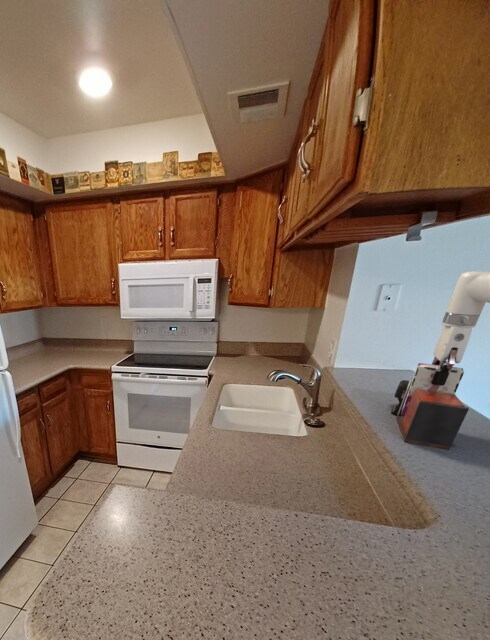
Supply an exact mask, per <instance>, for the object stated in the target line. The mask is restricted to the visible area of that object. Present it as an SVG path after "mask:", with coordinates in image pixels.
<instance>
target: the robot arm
mask: <svg viewBox="0 0 490 640" xmlns="http://www.w3.org/2000/svg"><path fill="white" fill-rule="evenodd" d="M486 303H487V304H490V271H486V270H485V271H484V270H474V271H473V270H470V271H464V272H463V273H461V275H459V277H458V279H457V282H456V284H455V287H454V290H453V293H452V295H451V298H450V299H449V303H448V305H447V308H446V311H445V313H444V316H443V318H442V322H441V325H443V327H442V329H441V331H440V334H439V336H438V339H437V342H436V344H435V347H434V350H433V356H434V357H433V360H432V362H431V364H432V365H439V367H438V371H436V372H435V374H434V377H433V379H432V382H431V384H433V385H442V386H443V385H445V383H446V380H447V378H448V375H449V373H450V371H451V368H452V367H455V364H460V363H461V362H462V360H463V358H464V355H465V352H466V349H467V348H468V347H467V346H468V345H469V341H470V338H471V335H472V330H473V328H476V326H477V324H478V321H479V319H480V316H481V314H482V312H483V309H484V307H485V306H486ZM442 366H443V367H442Z"/></svg>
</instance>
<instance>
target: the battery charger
mask: <svg viewBox="0 0 490 640" xmlns="http://www.w3.org/2000/svg"><path fill="white" fill-rule="evenodd" d="M411 383H412V380H405V379H403V380H400V382H399V383H398V386H397V388H396V389H395V393H394V398H395V399H397V401H398V403H397V404H396V405H395V406H392V408H391V411H390V413H391V414H392V415H395V416H402V414H401V413H402V408H403V406H404V403H405V400H406V397H407V394H408V391H409V388H410V386H411Z"/></svg>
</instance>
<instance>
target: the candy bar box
mask: <svg viewBox="0 0 490 640" xmlns="http://www.w3.org/2000/svg"><path fill="white" fill-rule="evenodd" d="M438 367H439V365H432V363H424V362H423V363H422V362H418V363H417V366H416V369H415V371H414V375H413V377H412V380H411V381H412V383H411V386H410V388H409V391H408V394H407V397H406V400H405V403H404V406H403V408H402V413H401V416H405V414H406V411H407V408H408V406H409V403H410V401H411V398H412V395H413V393H414V390H415V389H417V390H425V391H433V392H441V393H449V394H455V395H456V392H457V390H458V389H459V386H460V383H461V380H462V378H463V376H464V375H465V374H464V373H465V371H464V368H463V367H456V366H452V368H451V371H450V373H449V375H448V378H447V380H446V383H445V385H443V386H442V385H433V384H431V382H432V379H433V377H434V374H435V372H436V371H438ZM442 367H443V366H442Z"/></svg>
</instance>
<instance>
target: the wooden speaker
mask: <svg viewBox="0 0 490 640" xmlns="http://www.w3.org/2000/svg"><path fill="white" fill-rule="evenodd" d="M469 410H470V408H469V407H466V406H465V405H464V403H462V401H461V400H460V399H459V397H458V396H457V395H456V393H455V394H449V393H441V392H433V391H425V390H417V389H415V390H414V393H413V395H412V398H411V401H410V403H409V406H408V408H407V411H406V414H405V415H403V416H402V415H396V418H395V419H396V422H397V424H398V429H399V431H400V433H401V437H402V439H403V442H404V443H408V444H414V445H419V446H426V447H430V448H435V449H440V450H442V449H443V450H445V451H446V450H447V451H450V450H451V447H452V446H453V443H454V441H455V439H456V437H457V435H458V433H459V431H460V429H461V426H462V424H463V422H464V421H465V418H466V416H467V415H468V412H469Z"/></svg>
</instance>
